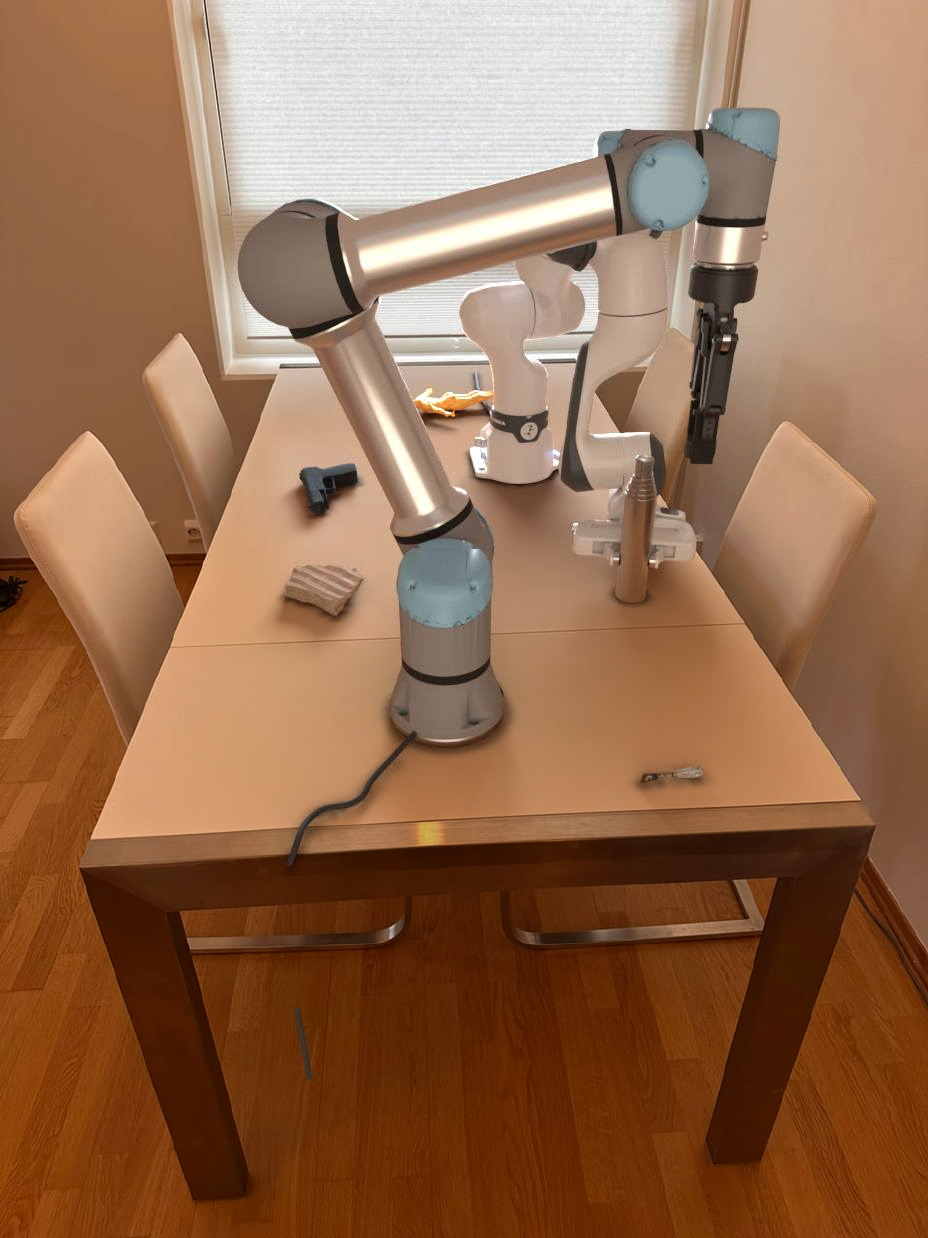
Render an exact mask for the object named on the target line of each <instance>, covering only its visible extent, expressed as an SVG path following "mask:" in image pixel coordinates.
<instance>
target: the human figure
mask: <svg viewBox="0 0 928 1238" xmlns="http://www.w3.org/2000/svg"><path fill="white" fill-rule="evenodd" d="M424 391H425V392H423V393H422V394H420V395H418V396H416V398H415V399H413V401H414V403H415V405H416V407H417V409H420V410H421V411H423V412H424V413H427V414H439V415H443V416H444V417H449V416H450V417H451V418H452V417H453V418H454V417H455V416H456V414H455V411H462V410H464V409H467V408H469V407H471V406H473V405H476V404H478V403H482V401H485V402H486V401H488V400H493V390H491V391H481V390H480V391H481V392H480V391H477V389H476V390H473V391H470V392H469V393H468V394H460V393H457V394H455V393H453V392H446V393H444V394H443V395H442V396H441V397H440V398H434V397H429V396H430V395H432V394H433V392H434V391H433V389H432V385H429V387H428V389H424ZM450 410H452V411H450Z"/></svg>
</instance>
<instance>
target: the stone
mask: <svg viewBox="0 0 928 1238" xmlns="http://www.w3.org/2000/svg"><path fill="white" fill-rule="evenodd" d="M363 581H364V577H363V575H361V574H360V573H359V572H358V570H357V568H356V567H355V568H351V567H347V566H344V565H342V564H341V565H340V564H329V565H320V564H306V565H296V566H294V567H293V569H292V572H291V575H290V578H289V580H288V582H287V583H286V584H285V585H284V593H283V596H284V597H286V598H290V599H293V600H297V601H300V603H308V604H311V605H314V606H316V607H319V608H320V609H321V610H323V611H325V612H326V613H328V614H330V615H331V616H335V617H337V616H338V615H339V613H340V612H342V611H343V610H344V608H345V604H346V602H347V601H348V600H349V599H350V598H351V596H352V595H353V594H355V593H356V592H357V591H358V589H359V588H360V586H361V584H362V583H363Z"/></svg>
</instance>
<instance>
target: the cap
mask: <svg viewBox="0 0 928 1238" xmlns="http://www.w3.org/2000/svg"><path fill="white" fill-rule="evenodd" d="M717 440H718V439H717V438H716V443H715V450H714V457H713V459H715V456H716V452H717V444H718V443H717ZM692 441H693V434H691V435H688V436H687V437H685V440H684V445H683V456H684V457H686V458H687V459H689V460H690V456H691V449H692Z"/></svg>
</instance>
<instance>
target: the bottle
mask: <svg viewBox="0 0 928 1238" xmlns="http://www.w3.org/2000/svg"><path fill="white" fill-rule="evenodd" d="M653 463H654V458H653V457H652V456H649V455H639V456H637V457H636V465H635V473H634V474H633V477H632V478H631V481H630V482H629V485H628V487H627V489H626V492H625V501H624V511H623V521H622V531H621V541H620V551H619V566H617V572H616V583H615V591H614V592H615V593H614V594H615V597H616V598H617V599H618V600H619V601H622V602H625V603H628V604H630V603H631V604H633V603H635V604H636V603H640V602H642V601H644V600H645V598H646V592H647V583H648V575H649V569H650V568H649V559H650V551H651V543H652V535H653V526H654V518H655V510H656V501H657V502H658V497H657V489H656V485H655V480H654V479H653V478H654V476H653V475H652V471H653Z"/></svg>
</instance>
